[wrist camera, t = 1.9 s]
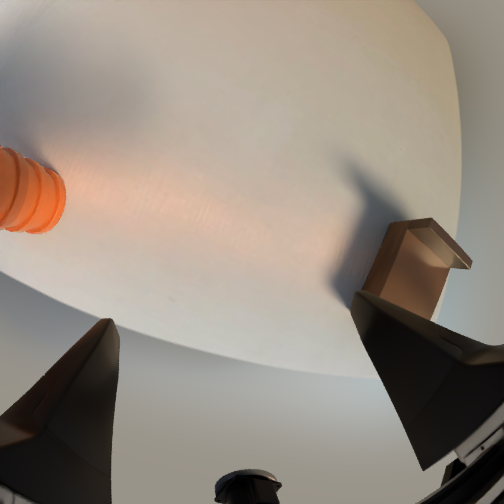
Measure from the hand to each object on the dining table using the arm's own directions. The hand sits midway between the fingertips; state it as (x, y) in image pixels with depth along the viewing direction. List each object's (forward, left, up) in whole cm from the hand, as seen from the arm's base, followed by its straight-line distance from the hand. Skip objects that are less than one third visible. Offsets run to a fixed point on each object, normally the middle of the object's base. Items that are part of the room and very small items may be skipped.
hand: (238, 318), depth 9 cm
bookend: (+8, -17, -14) cm, 23 cm away
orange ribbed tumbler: (-2, +19, -14) cm, 23 cm away
